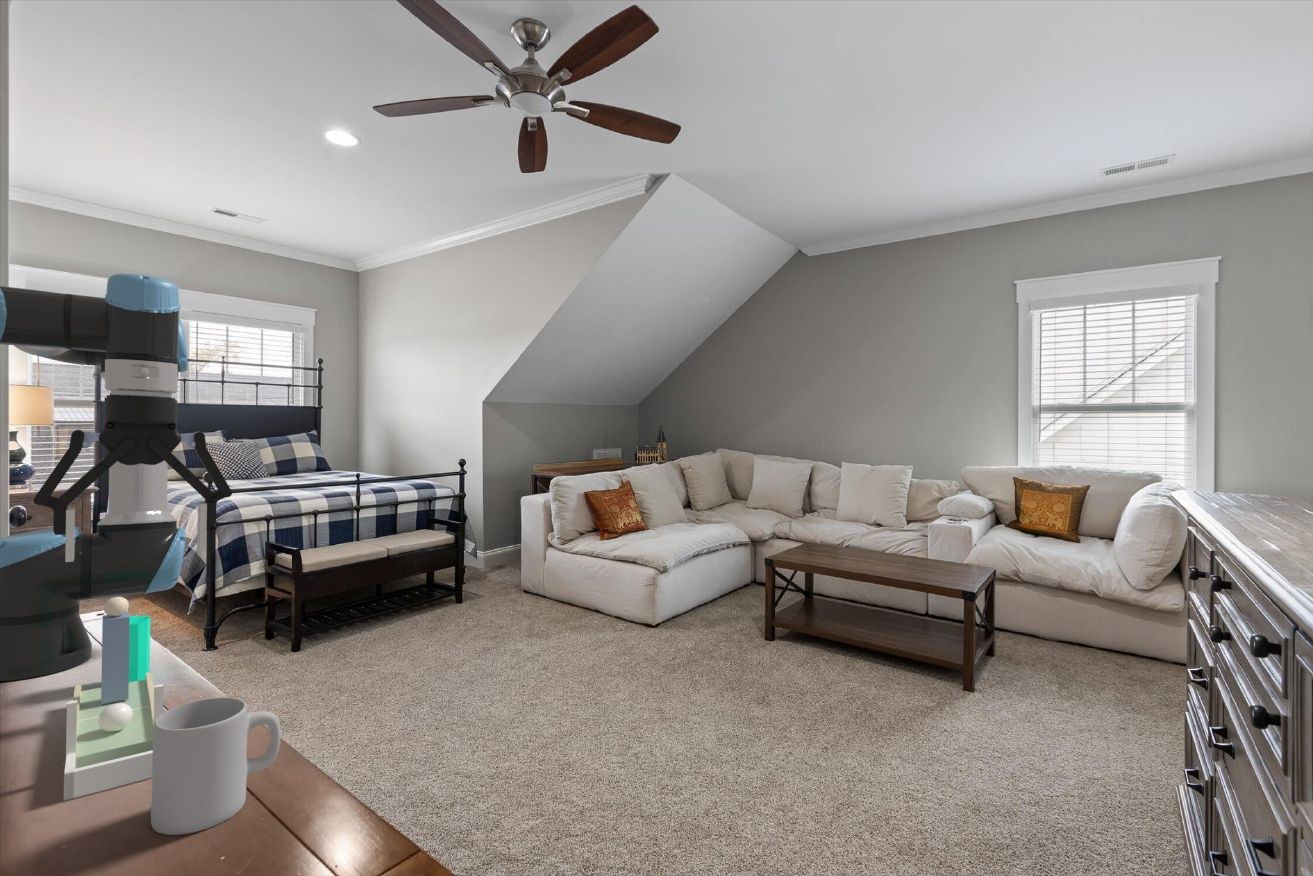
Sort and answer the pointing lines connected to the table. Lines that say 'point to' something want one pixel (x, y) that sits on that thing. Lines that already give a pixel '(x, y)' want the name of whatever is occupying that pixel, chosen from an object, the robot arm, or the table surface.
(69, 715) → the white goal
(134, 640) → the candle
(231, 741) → the mug
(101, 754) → the pitch
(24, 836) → the table surface
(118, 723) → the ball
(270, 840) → the table surface
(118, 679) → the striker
